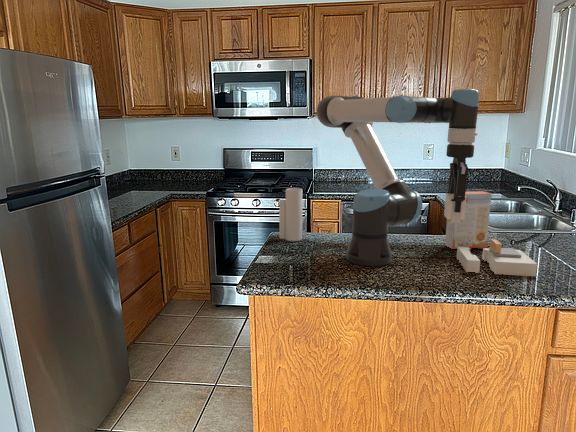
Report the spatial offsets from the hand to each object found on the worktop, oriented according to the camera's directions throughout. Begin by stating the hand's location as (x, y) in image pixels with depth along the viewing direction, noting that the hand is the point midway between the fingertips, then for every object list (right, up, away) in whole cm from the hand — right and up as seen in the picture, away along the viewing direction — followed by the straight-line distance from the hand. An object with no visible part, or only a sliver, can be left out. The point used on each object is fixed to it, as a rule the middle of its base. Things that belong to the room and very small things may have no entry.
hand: (453, 220), depth 133 cm
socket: (+16, -15, +8) cm, 23 cm away
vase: (-50, -8, +41) cm, 65 cm away
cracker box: (+16, -11, +30) cm, 35 cm away
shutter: (+20, -11, +8) cm, 24 cm away
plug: (0, 0, 0) cm, 0 cm away
